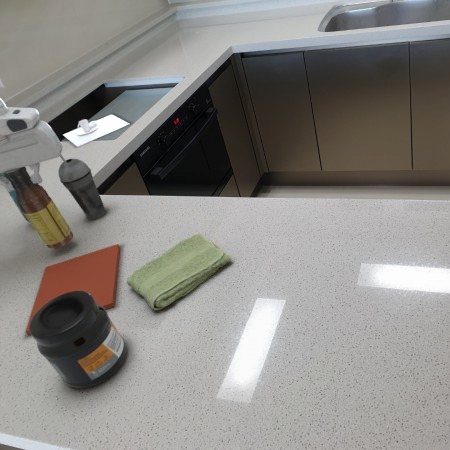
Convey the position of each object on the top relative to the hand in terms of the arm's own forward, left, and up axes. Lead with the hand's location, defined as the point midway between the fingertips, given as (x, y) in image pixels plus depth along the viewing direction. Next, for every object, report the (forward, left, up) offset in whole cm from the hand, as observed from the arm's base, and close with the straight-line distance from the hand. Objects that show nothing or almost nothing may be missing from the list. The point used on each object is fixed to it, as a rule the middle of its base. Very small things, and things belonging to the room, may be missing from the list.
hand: (26, 186), depth 97 cm
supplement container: (+11, -40, -17) cm, 45 cm away
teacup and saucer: (-1, +80, -17) cm, 82 cm away
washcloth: (+26, -24, -17) cm, 40 cm away
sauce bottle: (0, 0, -15) cm, 15 cm away
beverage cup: (+6, +12, -17) cm, 22 cm away
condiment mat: (+5, -17, -17) cm, 25 cm away
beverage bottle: (-9, +18, -17) cm, 26 cm away
